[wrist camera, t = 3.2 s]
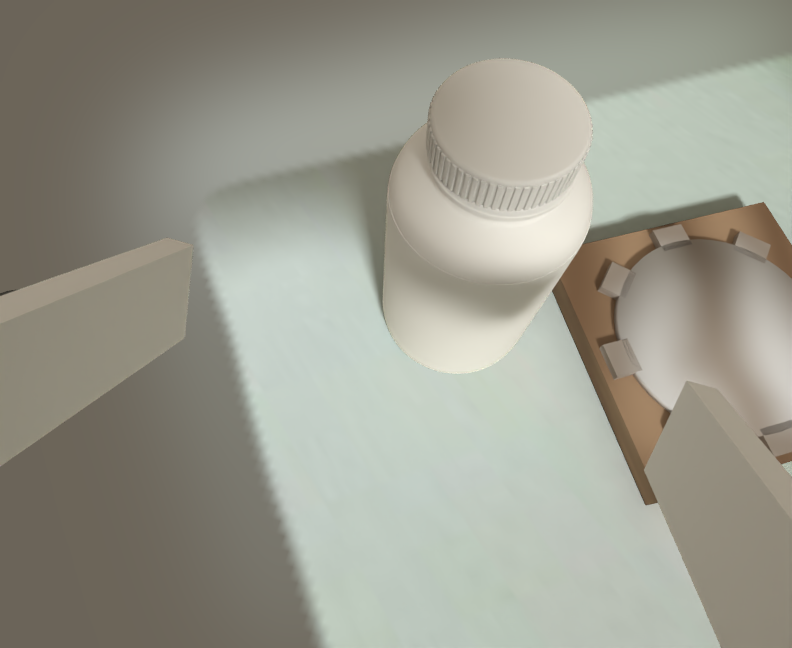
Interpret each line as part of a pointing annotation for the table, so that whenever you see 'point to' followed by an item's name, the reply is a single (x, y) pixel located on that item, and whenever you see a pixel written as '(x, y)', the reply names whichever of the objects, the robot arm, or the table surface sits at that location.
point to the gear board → (686, 325)
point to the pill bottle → (485, 213)
